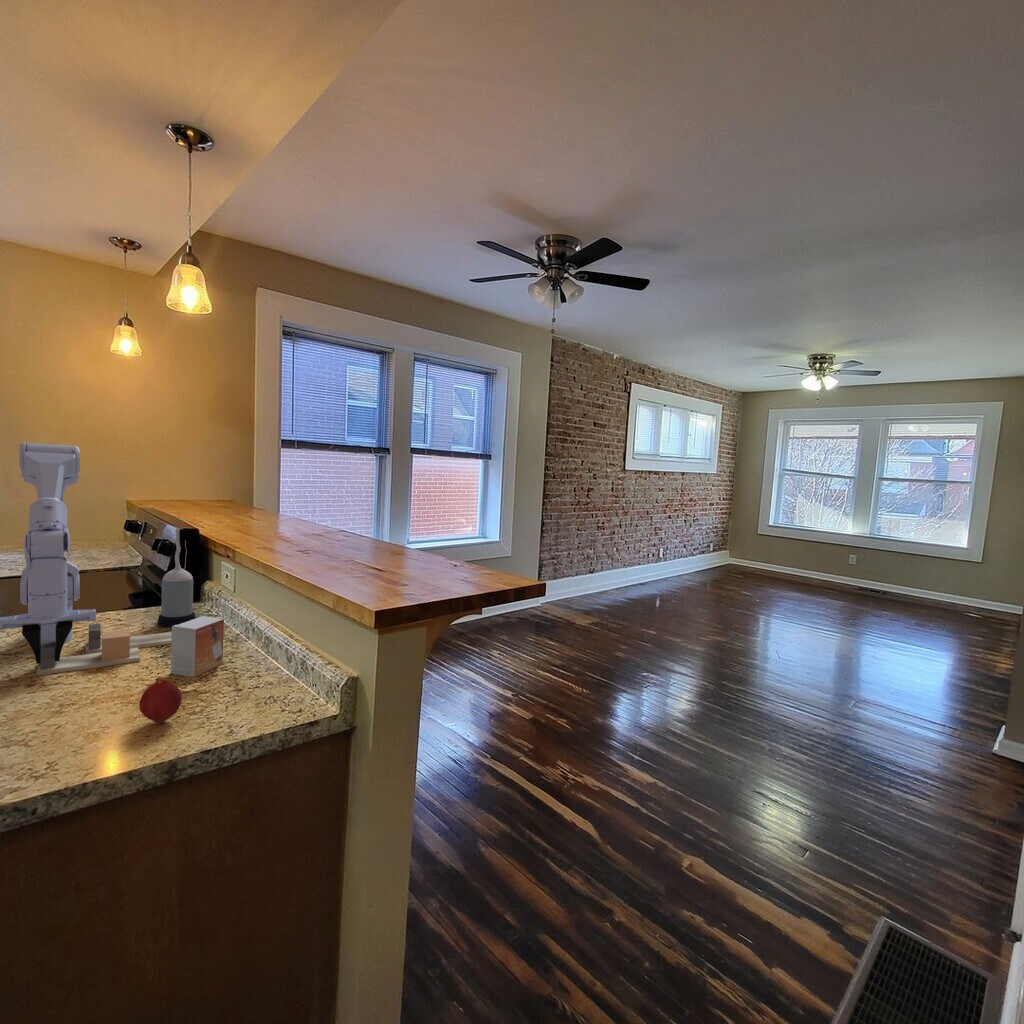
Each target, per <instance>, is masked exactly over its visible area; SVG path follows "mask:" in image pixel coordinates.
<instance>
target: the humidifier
mask: <svg viewBox="0 0 1024 1024" xmlns="http://www.w3.org/2000/svg"><path fill="white" fill-rule="evenodd" d="M186 543H187V541H185V542H184V547H185V550H186V552H185V557H184V558H185V560H184V568H182V566H181V564H180V553H181V550H182V549H181V545H180V528H175V547H176V550H175V552H174V553H175V555H174V562H175V566H174V569H171V570H170V571H168V572H167V573H165V574H164V575H163V576H162V581H161V609H160V611H161V612H160V613H161V614H159V615H158V619H157V622H156V623H157V626H159V627H162V628H171V629H172V626H174V625H178V624H181V623H184V622H187V621H190V620H193V619H196V618H197V615H196V613H195V612H194V611H193V610H194V608H193V607H194V606H193V605H194V577H193V575H192V574H191V573H190V572H189V571H187V570H186V569H185V568H186V563H187V554H188V553H187V552H188V549H187V547H186Z"/></svg>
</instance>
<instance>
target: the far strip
mask: <svg viewBox="0 0 1024 1024" xmlns="http://www.w3.org/2000/svg"><path fill="white" fill-rule="evenodd" d="M101 631H102V629H101V622H99V623H90V624H88V641H85V654H92V653H100V652H102V632H101ZM171 637H172V631H167V632H160V633H159V632H158V633H150V634H141V635H134V636H131V635H130V649H132V648H138V649H141V648H142V649H143V648H147V647H156V646H164V645H171ZM85 654H84V655H85Z"/></svg>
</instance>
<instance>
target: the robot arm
mask: <svg viewBox="0 0 1024 1024" xmlns="http://www.w3.org/2000/svg"><path fill="white" fill-rule="evenodd" d="M80 451H81V450H80V447H79V446H78V445H74V444H73V445H64V444H63V445H62V444H50V443H49V444H48V443H47V444H46V443H29V442H26V441H22V443H20V444H19V450H18V454H19V455H18V457H19V458H18V459H19V460H18V463H19V469H20V473H21V477H22V478H23V482H24V483H28V484H30V485H33V486H34V488H35V489H36V492H37V493H36V494H37V500H34V501H33V502H32V503H31V504H30V505H29V509H28V512H29V513H28V514H29V515H28V529H27V530H28V531H27V533H24V538H23V554H24V558H25V567H24V568H23V570H22V571H21V578H20V584H19V585H20V586H19V589H20V590H19V591H20V592H19V596H20V603H21V604H22V605H24V606H27V613H24V614H17V615H10V616H3V617H0V631H4V630H5V629H6V630H7V629H16V628H22V629H21V635H22V636H23V637H24V639H25V640H26V641H27V643H28V645H29V646H30V649H31V650H32V652H33V655H34V658H35V664H36V665H38V664H40V663H41V645H42V641H49V640H56V650H55V662H56V661H60V658H61V653H62V649H63V647H64V646H65V645H64V644H65V643H67V642H69V641H71V640H72V639H73V625H74V624H73V623H77V622H78V623H79V622H86V621H87V622H96V621H97V611H96V609H95V608H93V609H91V608H90V609H73V605H74V604H73V603H74V602H77V601H78V600H79V599H80V596H81V594H80V585H81V582H80V581H81V580H80V577H81V576H80V568H78V565H76V564H75V563H73V562H71V561H70V560H69V558H70V556H71V534H70V531H69V525H68V506H67V504H66V503H65V502H64V495H65V493H66V490H67V488H68V487H69V486H72V485H74V484H77V483H78V480H79V477H80V469H81V468H80V467H81V464H80V463H81V462H80V461H81V460H80V459H81V457H80V454H81V452H80ZM65 551H66V554H67V557H65V553H64V552H65Z"/></svg>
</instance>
